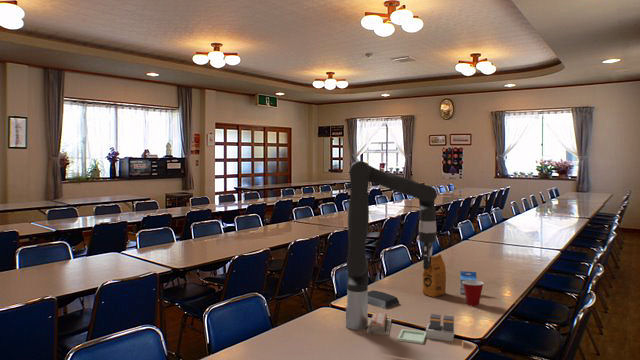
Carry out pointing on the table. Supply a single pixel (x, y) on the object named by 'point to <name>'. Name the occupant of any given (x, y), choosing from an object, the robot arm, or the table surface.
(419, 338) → the tray
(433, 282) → the coffee package
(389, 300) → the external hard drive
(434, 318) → the plug
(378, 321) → the packaged product
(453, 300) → the table surface
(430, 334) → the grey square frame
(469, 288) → the plastic cup
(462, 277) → the label tape box
